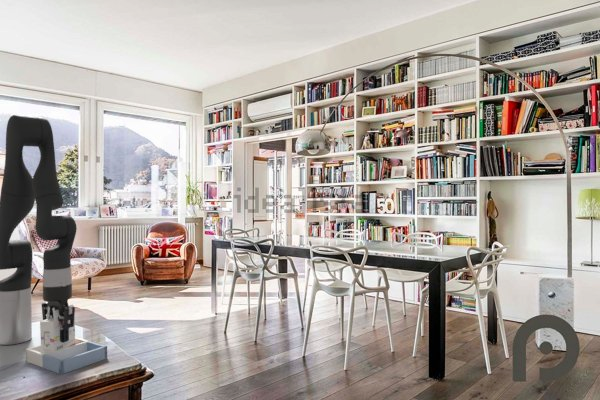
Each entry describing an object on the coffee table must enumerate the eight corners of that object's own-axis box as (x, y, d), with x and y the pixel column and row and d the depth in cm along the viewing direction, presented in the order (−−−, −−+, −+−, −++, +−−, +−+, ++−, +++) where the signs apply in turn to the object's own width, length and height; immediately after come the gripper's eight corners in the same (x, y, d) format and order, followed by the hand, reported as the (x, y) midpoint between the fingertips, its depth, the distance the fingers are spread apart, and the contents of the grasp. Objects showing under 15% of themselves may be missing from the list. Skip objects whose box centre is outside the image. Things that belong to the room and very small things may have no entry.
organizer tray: (25, 361, 125) (25, 349, 125) (71, 347, 137) (71, 335, 137) (60, 374, 115) (60, 361, 115) (107, 358, 127) (107, 346, 127)
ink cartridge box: (61, 351, 133) (61, 303, 133) (76, 352, 132) (75, 304, 132) (39, 361, 125) (39, 310, 125) (54, 362, 124) (54, 311, 124)
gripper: (31, 283, 129) (32, 339, 129) (57, 288, 121) (58, 347, 121) (57, 278, 135) (57, 332, 135) (83, 283, 128) (84, 340, 128)
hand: (58, 339), depth 128 cm, fingers closed on ink cartridge box, 6 cm apart
